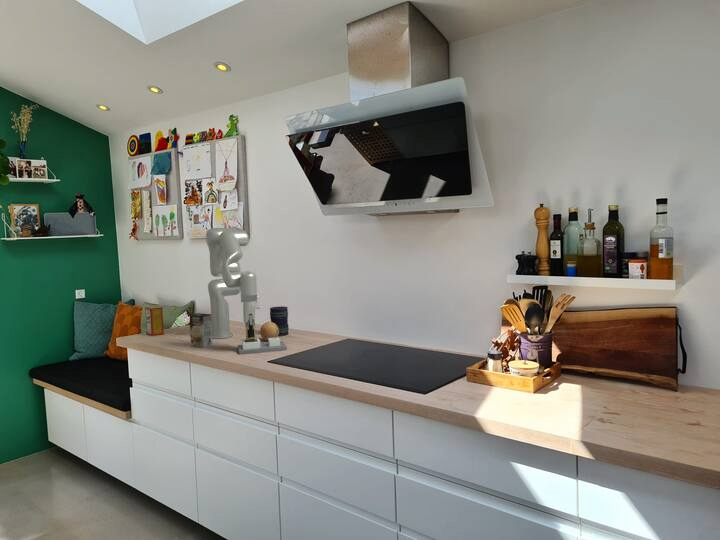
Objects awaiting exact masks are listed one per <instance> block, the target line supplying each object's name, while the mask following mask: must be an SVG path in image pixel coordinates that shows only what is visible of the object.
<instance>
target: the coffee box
mask: <svg viewBox="0 0 720 540" xmlns="http://www.w3.org/2000/svg"><path fill="white" fill-rule="evenodd" d="M189 332H190V334H189V335H190V336H189V337H190V347H195V348H203V349H204V348H205V349H206V348H208V347H210V346H213V338H212V323H211V313H200V312H198V313H194V314H189Z"/></svg>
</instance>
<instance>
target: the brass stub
mask: <svg viewBox="0 0 720 540" xmlns="http://www.w3.org/2000/svg"><path fill="white" fill-rule="evenodd" d="M248 323H250V322H248ZM252 323H254V335H255V337H253V338H248V335H247V329H248V324H247V322H246V323H245V340H246V342H256V340H255V339H256V324H255V323H256V321H255V322H252Z"/></svg>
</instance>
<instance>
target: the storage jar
mask: <svg viewBox="0 0 720 540" xmlns="http://www.w3.org/2000/svg"><path fill="white" fill-rule="evenodd" d="M269 317H270V322H273V323H275V324H276V325H277V326H278V329H279V335H278V337H286V336H288V335H289V327H290V326H289V323H288V321H289V320H288V318H289V308H288V306H281V305H280V306H272V307H269Z"/></svg>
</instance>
